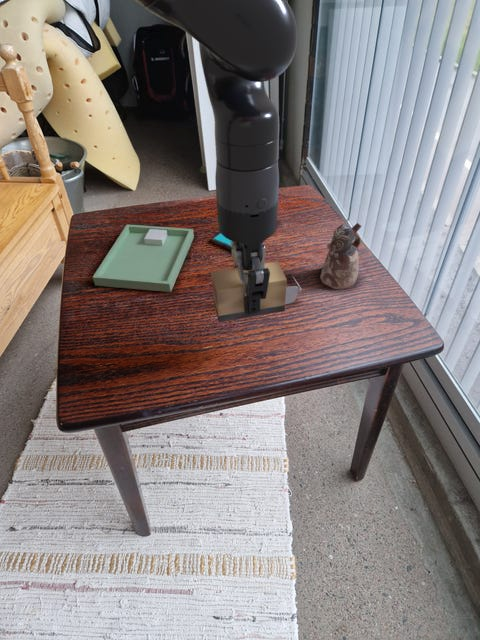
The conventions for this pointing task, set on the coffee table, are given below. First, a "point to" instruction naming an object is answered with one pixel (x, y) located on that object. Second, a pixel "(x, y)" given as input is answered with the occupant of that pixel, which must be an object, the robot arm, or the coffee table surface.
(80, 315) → the coffee table surface
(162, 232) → the chalk lump
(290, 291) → the eyeglasses
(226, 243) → the smartphone
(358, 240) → the figurine
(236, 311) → the eraser
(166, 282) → the tray
